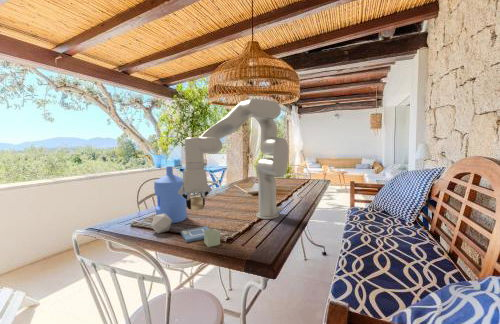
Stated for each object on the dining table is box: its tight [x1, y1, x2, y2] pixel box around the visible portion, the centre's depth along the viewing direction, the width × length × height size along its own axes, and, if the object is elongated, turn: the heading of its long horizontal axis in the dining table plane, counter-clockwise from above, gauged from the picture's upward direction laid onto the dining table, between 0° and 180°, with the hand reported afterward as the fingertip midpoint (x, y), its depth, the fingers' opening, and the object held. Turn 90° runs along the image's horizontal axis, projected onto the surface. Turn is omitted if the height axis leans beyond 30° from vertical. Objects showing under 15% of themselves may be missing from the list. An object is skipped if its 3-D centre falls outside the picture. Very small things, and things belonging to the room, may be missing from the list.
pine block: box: [189, 194, 204, 211], centre depth 106 cm, size 5×5×5 cm
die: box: [150, 213, 172, 234], centre depth 113 cm, size 8×9×10 cm
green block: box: [203, 228, 221, 248], centre depth 99 cm, size 5×5×5 cm
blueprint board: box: [180, 225, 211, 243], centre depth 108 cm, size 12×11×1 cm
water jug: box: [153, 166, 188, 225], centre depth 128 cm, size 16×16×28 cm
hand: (195, 207), depth 107 cm, fingers closed on pine block, 4 cm apart
